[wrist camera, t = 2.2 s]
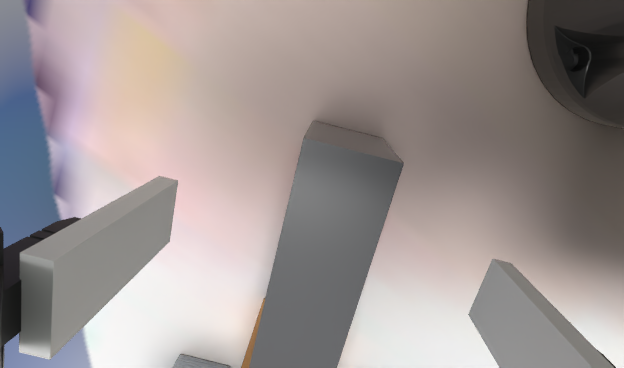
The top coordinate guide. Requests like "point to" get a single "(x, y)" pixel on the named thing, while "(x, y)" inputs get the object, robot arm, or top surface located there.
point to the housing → (196, 363)
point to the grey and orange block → (324, 248)
